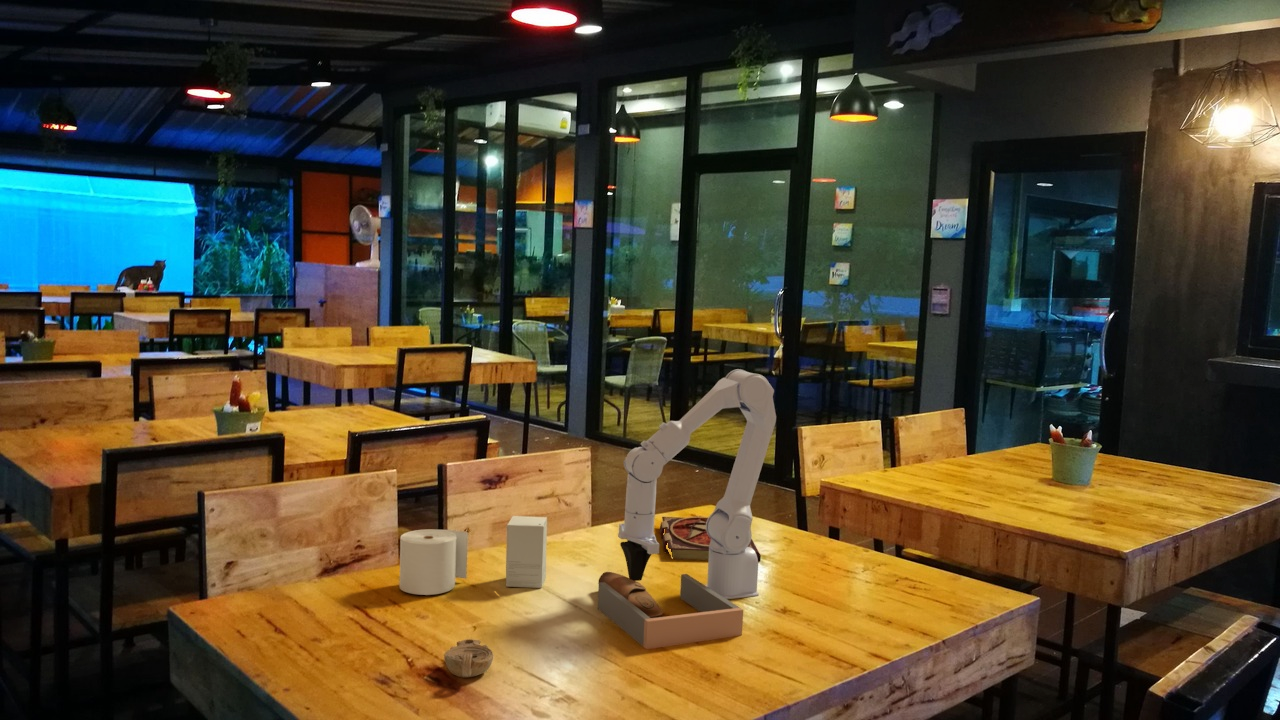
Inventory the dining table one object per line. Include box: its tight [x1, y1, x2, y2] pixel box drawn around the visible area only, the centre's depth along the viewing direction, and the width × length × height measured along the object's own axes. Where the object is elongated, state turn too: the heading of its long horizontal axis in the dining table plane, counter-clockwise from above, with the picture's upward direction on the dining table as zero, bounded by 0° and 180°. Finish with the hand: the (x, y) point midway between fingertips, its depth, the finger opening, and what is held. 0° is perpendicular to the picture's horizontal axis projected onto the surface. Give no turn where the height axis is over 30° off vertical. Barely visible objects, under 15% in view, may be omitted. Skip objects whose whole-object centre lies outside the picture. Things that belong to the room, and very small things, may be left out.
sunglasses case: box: [597, 571, 665, 618], centre depth 182 cm, size 18×7×7 cm
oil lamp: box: [443, 638, 494, 679], centre depth 149 cm, size 13×8×5 cm, turn 5°
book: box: [659, 516, 762, 563], centre depth 227 cm, size 28×21×5 cm
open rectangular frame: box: [597, 573, 744, 650], centre depth 174 cm, size 18×21×5 cm
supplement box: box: [505, 515, 548, 589], centre depth 193 cm, size 7×7×13 cm
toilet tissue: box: [398, 528, 469, 596], centre depth 188 cm, size 11×12×10 cm
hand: (635, 580), depth 186 cm, fingers closed, pressing on sunglasses case
